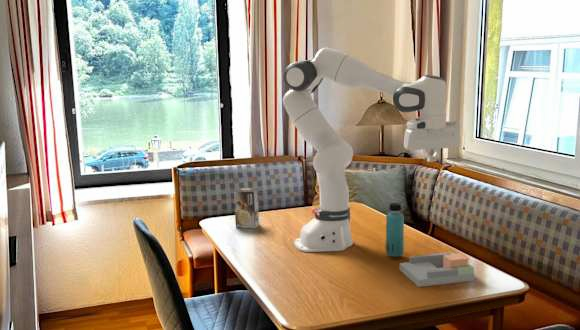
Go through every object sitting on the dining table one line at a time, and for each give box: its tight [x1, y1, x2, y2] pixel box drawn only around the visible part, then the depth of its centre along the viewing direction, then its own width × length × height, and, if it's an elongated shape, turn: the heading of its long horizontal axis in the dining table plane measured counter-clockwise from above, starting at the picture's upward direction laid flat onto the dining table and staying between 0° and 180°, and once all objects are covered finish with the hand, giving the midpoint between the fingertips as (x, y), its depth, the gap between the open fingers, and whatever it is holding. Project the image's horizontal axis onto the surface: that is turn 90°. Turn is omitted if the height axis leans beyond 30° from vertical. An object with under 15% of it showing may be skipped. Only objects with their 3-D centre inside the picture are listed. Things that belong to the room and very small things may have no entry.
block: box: [443, 252, 469, 269], centre depth 192 cm, size 6×5×4 cm
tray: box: [399, 252, 475, 288], centre depth 194 cm, size 19×15×4 cm
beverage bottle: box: [385, 202, 405, 257], centre depth 210 cm, size 6×7×20 cm
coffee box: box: [233, 187, 260, 229], centre depth 251 cm, size 9×6×16 cm
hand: (431, 161), depth 209 cm, fingers closed
